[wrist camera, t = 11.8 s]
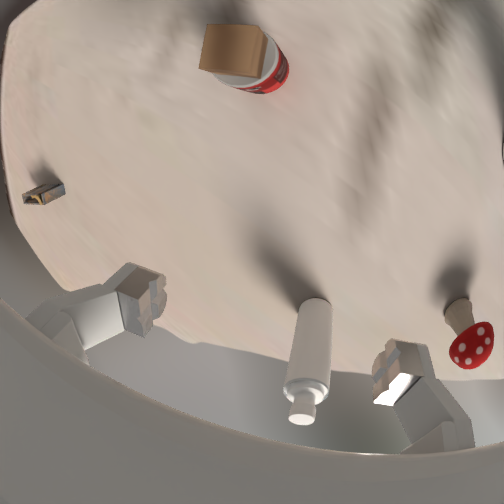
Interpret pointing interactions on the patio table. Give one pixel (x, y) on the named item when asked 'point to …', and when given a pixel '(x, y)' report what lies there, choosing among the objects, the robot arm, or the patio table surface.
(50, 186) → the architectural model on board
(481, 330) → the decorative mushroom
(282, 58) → the canned food
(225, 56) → the walnut block
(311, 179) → the patio table surface
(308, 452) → the robot arm
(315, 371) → the white bottle
